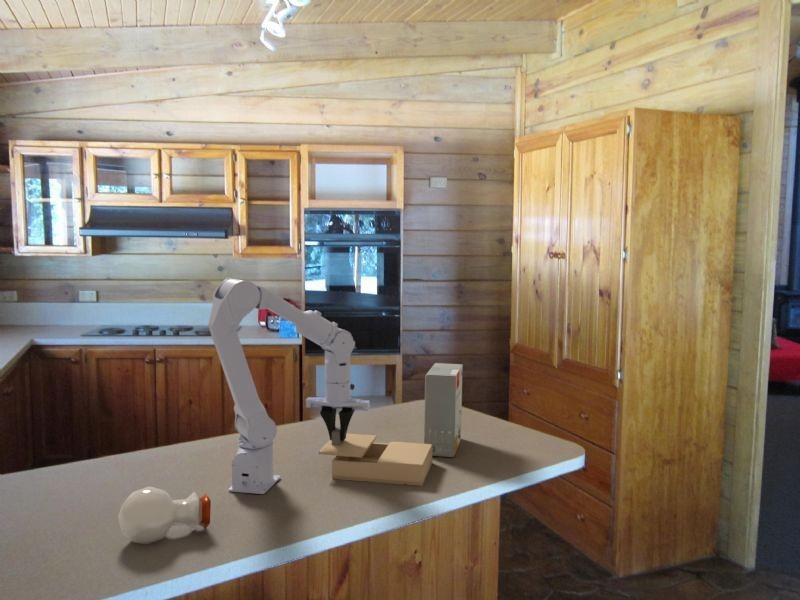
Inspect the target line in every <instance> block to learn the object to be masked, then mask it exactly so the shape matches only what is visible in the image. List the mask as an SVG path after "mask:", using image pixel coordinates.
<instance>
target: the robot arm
mask: <svg viewBox="0 0 800 600" xmlns="http://www.w3.org/2000/svg"><path fill="white" fill-rule="evenodd" d="M212 297H213V298H212V299H213V300H212V302H213V303H212V307H211V311H210V316H209V321H208V331H209V332H210V335H211V339H212V341H213V345H214V347H215V349H216V350H215V351H216V353H217V356H218V359H219V362H220V365H221V367H222V370H223V373H224V376H225V378H226V382H227V384H228V388H229V390H230V393H231V397H232V399H233V402H234V406H233V410H234V414H235V419H234V427H235V430H236V431H237V433H238V434H239V438H238V440H237V444H238V445H237V446H238V447H237V448H238V449H237V452H236V454H235V455H234V457H233V459H232V460H231V461H232V462H231V479H232V481H231V483H232V485H231V486H230V487H229V488H228V492H234V493H245V494H246V493H247V494H257V495H258V494H259V495H265V494H266V492H268V490H270V489H271V488H272V487H273V486H274V485H275V484H276V483H277V482H278V481H279V480H280V479H281V475H277V474H276V475H275V474H274V440H275V438H276V436H277V431H278V429H277V425H276V422H275V421H274V420H273V419H272V418H270V416H269V414H268V413H267V410H266V408H265V405H264V404H263V403H262V401H261V399H260V397H259V394H258V391H257V389H256V385H255V382H254V379H253V376H252V373H251V370H250V367H249V364H248V362H247V361H248V360H247V358H246V354H245V353H244V349H243V346H242V343H241V340H240V338H239V335H238V334H239V333H238V331H237V329H238V327H239V326H240V323H242V320H244V318H245V317H246V316H247V315H248V314H251V312H252V311H254V309H257V310H268V311H270V312H272V313H274V314H275V315H277V316H279V317H281V318H283V319H285V320H286V321H288V322H290V323H292V324H294V326H295V330H296V332H297V334H298V335H301V336H303V337H305V339H308V340H310V341H311V342H313V343H315V344H316V345H318V346H320V347H321V348H322V350H324V396H318V397H317V396H315V397H314V396H313V397H312V396H309V397H307V398H306V399H305V408H321V410H320V411H319V414H320V416H321V418H322V419H323V422H324V424H325V426H326V428H327V431H328V436H329V440H332V431H333V430H334V429H335V428H336V427H337V426H336V417H337V409H341V410H340V411H339V412H338V417H339V418H338V419H339V427H340V440H341V441H344V440H345V439H346V433H347V434H348V428H349V425H350V422H351V420H352V417H353V415H354V413H355V411H356V410H358V411H359V410H360V411H364V412H368V411H369V410H370V408H371V406H370V405H371V404H370V403H371V401H370V400H368V399H366V400H365V399H359V398H353V397H351V354H352V352H353V350H354V349H355V346H356V341H355V340H354V337H353V335H352V333H351V332H350V331H348V330H346V329H344V328H343V329H342V328H340V327H338V326H339V324H338V322H335V321H332V322H331V321H330V320H328V319H326V318H325V317H323V316H322V312H320V311H318V310H314V311H313V310H312V309H310V310H306V311H302V310H300V309H299V308H297V307H296V306H294V305H293V304H291V303H290V302H289V301H286V300H285V299H284V298H282V297H280V296H279V295H277V294H276V293H274V292H273V291H271V290H269V289H267V288H265V287H263V286H260V285H256V284H255V283H254V282H252V281H249V280H242V279H239V278H238V277H237V278H236V277H227V278H226V279H224V280H223V281H221V282H220V284H219V285H218V287H217V288H216V290H214V292H213V294H212Z"/></svg>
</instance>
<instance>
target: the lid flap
mask: <svg viewBox="0 0 800 600" xmlns="http://www.w3.org/2000/svg"><path fill="white" fill-rule="evenodd" d="M377 437H378V436H377V435H376V434H375V435H374V434H359V433H348V432H347V433H346V439H345V440H344V441H341V440H340V426H336V428H335V429H334V430H333V431H332V440H330V439H329V440H328V441H327V442H326V443H325V444H324V446H322V447H321V448H320V449H319V451H318V455H324V456H325V455H326V456H335V457H336V456H349V457H363V455H364V454H365V453H366V451H367V450H368V449H369V447H370V446H371V445H372V443H373V442H375V441H376V439H377Z"/></svg>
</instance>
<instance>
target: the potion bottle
mask: <svg viewBox="0 0 800 600" xmlns="http://www.w3.org/2000/svg"><path fill="white" fill-rule="evenodd" d="M211 502H212V501H211V499H210V497H209V496H208V494H207V493H205V494H203V496H202V497H199V495H198V494H197V492H196V491H195V490H194V491H193V492H192V493H191V494H190V495H189V496H188V497H187V498H185V499H172V498H171V496H170V495H169V493H168V492H167V491H166V490H164V489H162V488H157V487H152V486H151V485H150V486H146V487H144V488H141V489H138V490H135V491H133V492H131V493H130V494H129V496H128V497H127V498H126V499H125V501H123V503H122V505H121V508H120V510H119V513H118V516H117V519H118V523H119V527H120V529H121V533H122V535H124V536H126V538H128V539H129V540H130V541H132V542H133V543H135V544H136V543H137V544H142V545H145V546H147V545H150V544H152V543H154V542H158V541H160V540H163V539H164V538H165V537H166V535H167V534H168V532H169V531H170V529H171V528H172V527H174V526H186V527H187V528H188V529H190V530H191V531H193V532H194V531H195V530H196V529H197V528H198V527H199V526H200V527H202V528H204V529H205V530H206V529H207V528H208V526H210V525H211V507H212V505H211Z"/></svg>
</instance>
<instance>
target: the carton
mask: <svg viewBox="0 0 800 600" xmlns="http://www.w3.org/2000/svg"><path fill="white" fill-rule="evenodd" d="M432 464H433V456H432V444H424V443H421V442H420V443H419V442H417V443H416V442H404V441H390V442H388V443H387V442H375V441H374V442H373V443H372V445H371V446H370V447H369V449H368V450H367V451H366V453H365V454H364V455H363V457H349V456H335V457H334V458H333V459H332V461H331V478H334V479H333V480H342V479H343V480H345V481H354V482H355V481H357V482H367V481H368V482H370V483H380V484H381V483H382V484H394V485H404V484H407V485H406V486H418V487H423V486H424V483H425V481H426V479H427V476H428V474H429V471H430V469H431V467H432ZM368 482H367V483H368Z"/></svg>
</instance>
